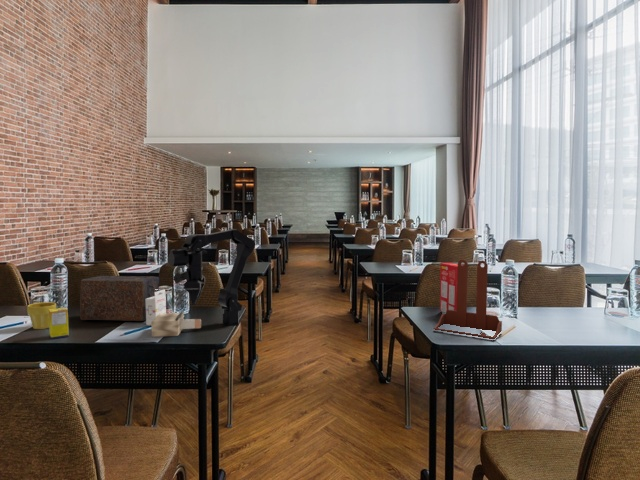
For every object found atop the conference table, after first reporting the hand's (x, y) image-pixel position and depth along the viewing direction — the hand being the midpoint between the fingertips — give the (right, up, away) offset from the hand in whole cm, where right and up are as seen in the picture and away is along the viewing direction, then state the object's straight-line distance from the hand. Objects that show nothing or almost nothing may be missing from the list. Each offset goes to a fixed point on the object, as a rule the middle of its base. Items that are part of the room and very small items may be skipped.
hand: (195, 302), depth 179 cm
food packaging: (+116, -11, +30) cm, 120 cm away
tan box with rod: (-11, -12, -1) cm, 16 cm away
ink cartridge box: (-21, -11, +12) cm, 27 cm away
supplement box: (-51, -12, -9) cm, 53 cm away
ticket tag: (-6, -11, -1) cm, 12 cm away
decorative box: (-40, -11, +21) cm, 47 cm away
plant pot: (-66, -11, +4) cm, 67 cm away
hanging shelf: (+113, -13, 0) cm, 113 cm away
